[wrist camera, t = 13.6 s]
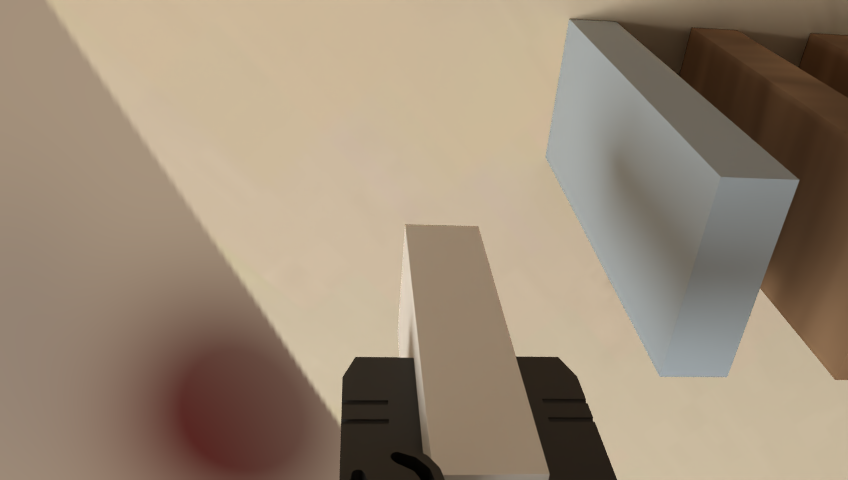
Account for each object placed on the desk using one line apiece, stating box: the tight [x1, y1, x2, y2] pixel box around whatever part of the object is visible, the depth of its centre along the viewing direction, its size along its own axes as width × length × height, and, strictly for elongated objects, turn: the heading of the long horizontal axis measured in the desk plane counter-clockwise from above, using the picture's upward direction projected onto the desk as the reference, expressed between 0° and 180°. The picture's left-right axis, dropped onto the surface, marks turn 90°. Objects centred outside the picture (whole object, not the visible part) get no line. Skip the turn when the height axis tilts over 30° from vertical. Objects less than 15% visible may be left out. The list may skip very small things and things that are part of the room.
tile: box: [546, 19, 799, 377], centre depth 21 cm, size 2×5×12 cm, turn 176°
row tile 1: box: [680, 28, 848, 380], centre depth 21 cm, size 2×5×12 cm, turn 176°
